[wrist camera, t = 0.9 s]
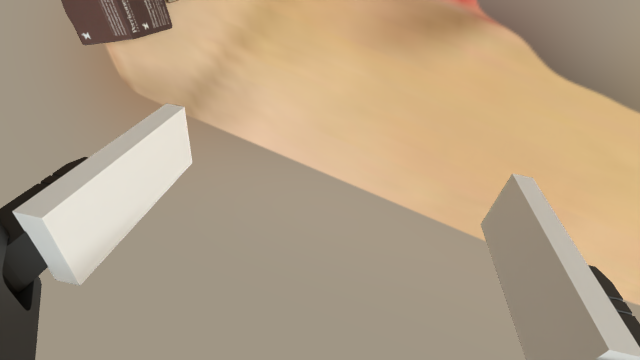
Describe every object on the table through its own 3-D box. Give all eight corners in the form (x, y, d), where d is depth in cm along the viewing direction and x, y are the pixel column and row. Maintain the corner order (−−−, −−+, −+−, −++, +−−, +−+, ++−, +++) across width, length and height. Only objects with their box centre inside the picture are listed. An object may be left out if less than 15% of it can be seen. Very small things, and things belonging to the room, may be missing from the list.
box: (174, 28, 36) (133, 41, 30) (130, 33, 38) (82, 46, 32) (153, -35, 33) (102, -35, 27) (105, -28, 34) (46, -25, 28)
